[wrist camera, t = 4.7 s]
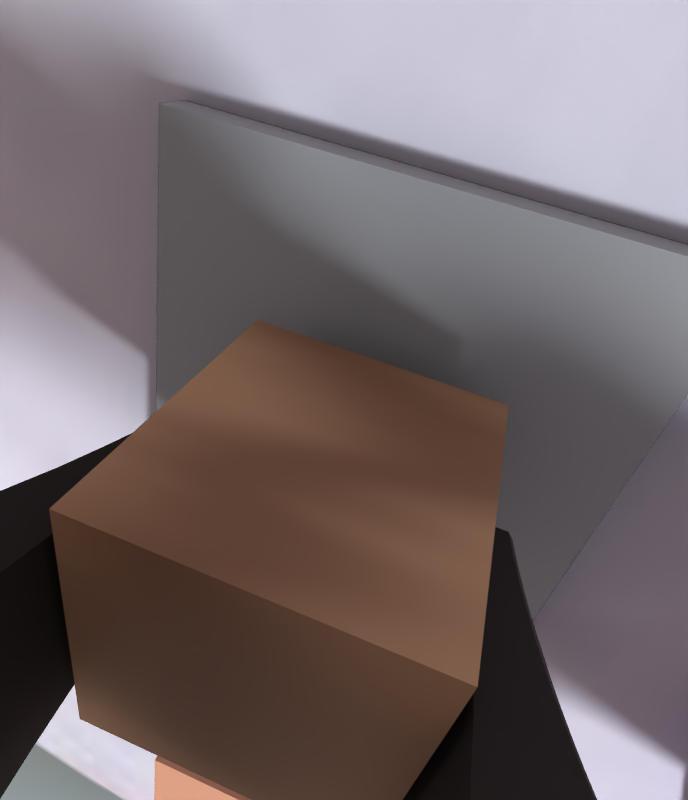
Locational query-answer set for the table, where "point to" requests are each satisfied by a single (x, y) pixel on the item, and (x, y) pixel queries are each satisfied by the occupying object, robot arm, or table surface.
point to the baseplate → (431, 303)
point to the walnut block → (287, 570)
